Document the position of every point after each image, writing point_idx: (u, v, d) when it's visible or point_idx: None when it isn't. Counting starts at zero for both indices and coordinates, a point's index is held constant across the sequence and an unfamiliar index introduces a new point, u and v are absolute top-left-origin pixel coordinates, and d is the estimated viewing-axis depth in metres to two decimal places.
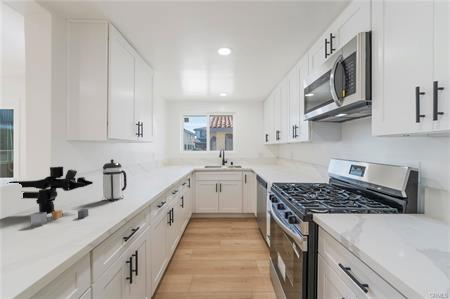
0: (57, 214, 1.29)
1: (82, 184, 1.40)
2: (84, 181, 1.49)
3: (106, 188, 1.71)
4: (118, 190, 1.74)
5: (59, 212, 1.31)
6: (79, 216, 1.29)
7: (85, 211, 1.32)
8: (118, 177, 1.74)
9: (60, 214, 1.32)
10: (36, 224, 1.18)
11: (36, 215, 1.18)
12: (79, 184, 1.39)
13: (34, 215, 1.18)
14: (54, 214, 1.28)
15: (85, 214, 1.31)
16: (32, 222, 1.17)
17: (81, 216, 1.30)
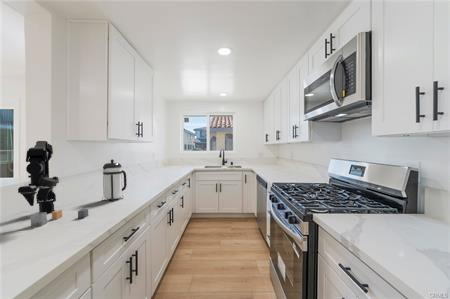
0: (57, 214, 1.29)
1: (31, 203, 1.14)
2: (46, 191, 1.25)
3: (106, 188, 1.71)
4: (118, 190, 1.74)
5: (59, 212, 1.31)
6: (79, 216, 1.29)
7: (85, 211, 1.32)
8: (118, 177, 1.74)
9: (60, 214, 1.32)
10: (36, 224, 1.18)
11: (36, 215, 1.18)
12: (30, 200, 1.14)
13: (34, 215, 1.18)
14: (54, 214, 1.28)
15: (85, 214, 1.31)
16: (32, 222, 1.17)
17: (81, 216, 1.30)
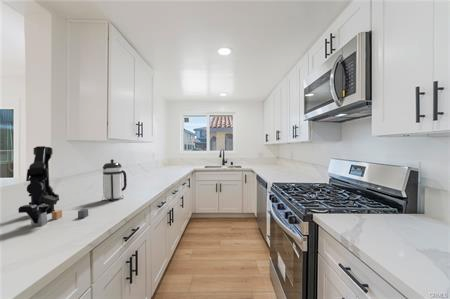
0: (57, 214, 1.29)
1: (35, 221, 1.17)
2: (43, 210, 1.22)
3: (106, 188, 1.71)
4: (118, 190, 1.74)
5: (59, 212, 1.31)
6: (79, 216, 1.29)
7: (85, 211, 1.32)
8: (118, 177, 1.74)
9: (60, 214, 1.32)
10: (36, 224, 1.18)
11: None
12: (34, 218, 1.16)
13: None
14: (54, 214, 1.28)
15: (85, 214, 1.31)
16: (32, 222, 1.17)
17: (81, 216, 1.30)
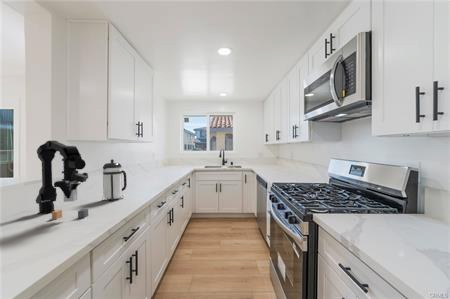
0: (57, 214, 1.29)
1: (67, 196, 1.27)
2: (74, 187, 1.32)
3: (106, 188, 1.71)
4: (118, 190, 1.74)
5: (59, 212, 1.31)
6: (79, 216, 1.29)
7: (85, 211, 1.32)
8: (118, 177, 1.74)
9: (60, 214, 1.32)
10: (68, 199, 1.28)
11: None
12: (67, 193, 1.27)
13: None
14: (54, 214, 1.28)
15: (85, 214, 1.31)
16: (65, 197, 1.28)
17: (81, 216, 1.30)
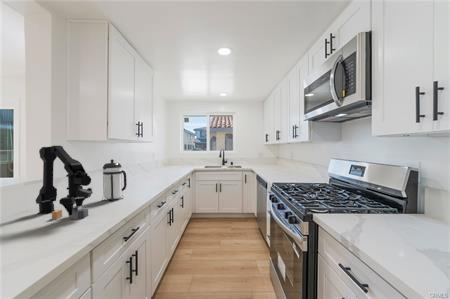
0: (57, 214, 1.29)
1: (70, 213, 1.27)
2: (80, 201, 1.36)
3: (106, 188, 1.71)
4: (118, 190, 1.74)
5: (59, 212, 1.31)
6: (79, 216, 1.29)
7: (85, 211, 1.32)
8: (118, 177, 1.74)
9: (60, 214, 1.32)
10: (73, 216, 1.30)
11: (73, 208, 1.30)
12: (70, 210, 1.26)
13: None
14: (54, 214, 1.28)
15: (85, 214, 1.31)
16: (69, 215, 1.30)
17: (81, 216, 1.30)
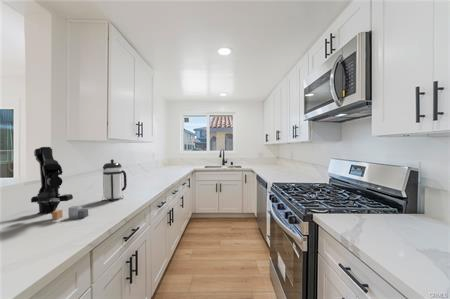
0: (58, 214, 1.29)
1: None
2: None
3: (106, 188, 1.71)
4: (118, 190, 1.74)
5: (59, 212, 1.31)
6: (79, 216, 1.29)
7: (85, 211, 1.32)
8: (118, 177, 1.74)
9: (61, 214, 1.32)
10: (73, 216, 1.30)
11: (73, 208, 1.30)
12: None
13: (71, 208, 1.30)
14: (55, 214, 1.28)
15: (85, 214, 1.31)
16: (69, 215, 1.30)
17: (81, 216, 1.30)
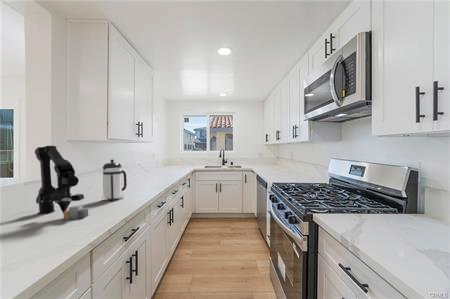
0: None
1: None
2: None
3: (106, 188, 1.71)
4: (118, 190, 1.74)
5: None
6: (79, 216, 1.29)
7: (85, 211, 1.32)
8: (118, 177, 1.74)
9: None
10: (74, 216, 1.30)
11: (74, 208, 1.30)
12: None
13: (72, 208, 1.30)
14: (66, 213, 1.29)
15: (85, 214, 1.31)
16: (70, 214, 1.30)
17: (81, 216, 1.30)
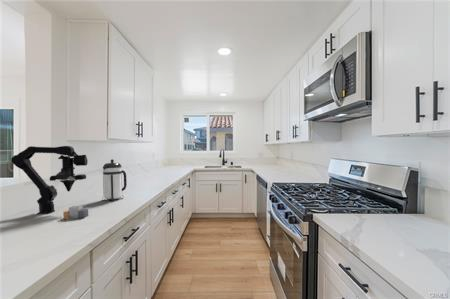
0: None
1: None
2: None
3: (106, 188, 1.71)
4: (118, 190, 1.74)
5: None
6: (79, 216, 1.29)
7: (85, 211, 1.32)
8: (118, 177, 1.74)
9: None
10: (74, 216, 1.30)
11: (74, 208, 1.30)
12: None
13: (72, 208, 1.30)
14: (66, 213, 1.29)
15: (85, 214, 1.31)
16: (70, 215, 1.30)
17: (81, 216, 1.30)
